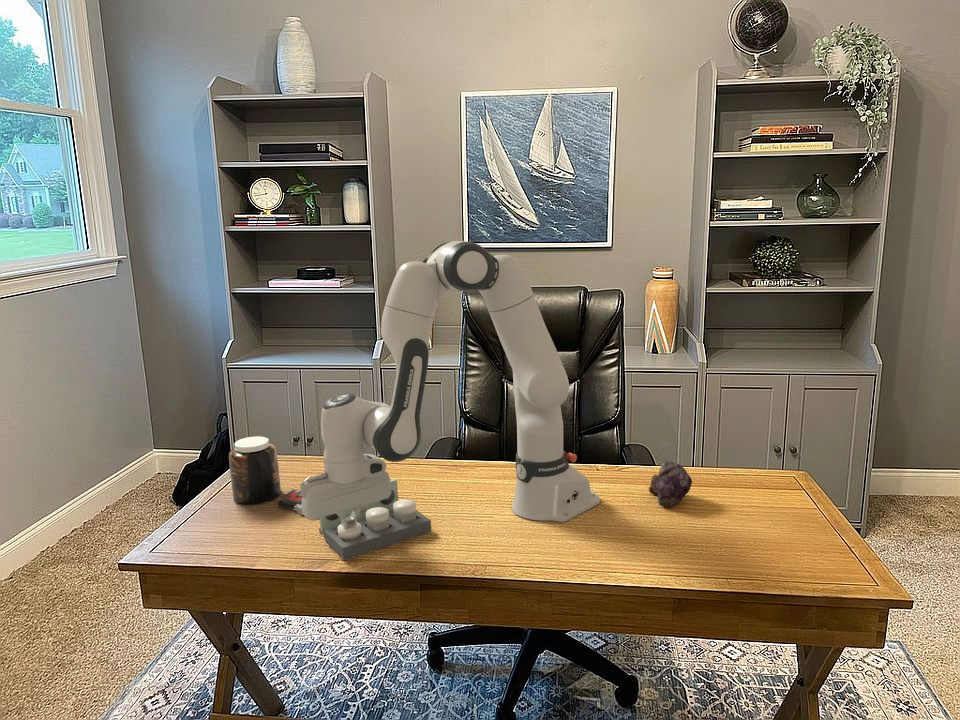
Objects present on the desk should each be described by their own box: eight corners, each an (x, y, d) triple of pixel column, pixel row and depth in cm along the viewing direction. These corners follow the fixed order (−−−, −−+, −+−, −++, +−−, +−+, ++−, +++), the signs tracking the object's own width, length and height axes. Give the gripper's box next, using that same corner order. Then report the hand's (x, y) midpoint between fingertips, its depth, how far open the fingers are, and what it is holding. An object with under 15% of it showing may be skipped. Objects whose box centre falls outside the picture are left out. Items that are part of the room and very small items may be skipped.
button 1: (356, 537, 173) (355, 519, 172) (366, 546, 169) (365, 527, 168) (335, 544, 170) (333, 525, 169) (344, 553, 166) (343, 534, 165)
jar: (255, 508, 190) (249, 452, 186) (224, 499, 196) (217, 445, 192) (289, 491, 200) (284, 438, 196) (258, 483, 206) (253, 431, 202)
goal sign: (395, 509, 188) (393, 477, 185) (400, 513, 185) (398, 481, 183) (319, 531, 177) (316, 498, 175) (324, 536, 174) (321, 502, 172)
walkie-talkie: (272, 511, 189) (340, 524, 181) (270, 495, 188) (338, 507, 180) (293, 497, 197) (359, 509, 189) (291, 482, 196) (358, 492, 188)
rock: (652, 513, 185) (694, 512, 184) (653, 483, 181) (696, 482, 180) (647, 486, 195) (686, 486, 194) (647, 458, 192) (688, 457, 191)
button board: (410, 516, 183) (409, 505, 183) (431, 532, 175) (430, 520, 174) (325, 543, 171) (324, 530, 171) (343, 560, 163) (342, 548, 163)
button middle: (383, 523, 176) (382, 505, 175) (393, 531, 172) (392, 513, 171) (363, 529, 174) (361, 511, 172) (373, 537, 169) (372, 519, 168)
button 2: (409, 514, 180) (408, 497, 179) (420, 522, 176) (419, 505, 175) (390, 520, 177) (389, 503, 176) (400, 529, 173) (399, 511, 172)
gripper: (305, 484, 157) (310, 545, 160) (392, 461, 168) (396, 518, 171) (294, 475, 162) (299, 533, 165) (379, 453, 173) (383, 509, 176)
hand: (349, 526), depth 168 cm, fingers closed
